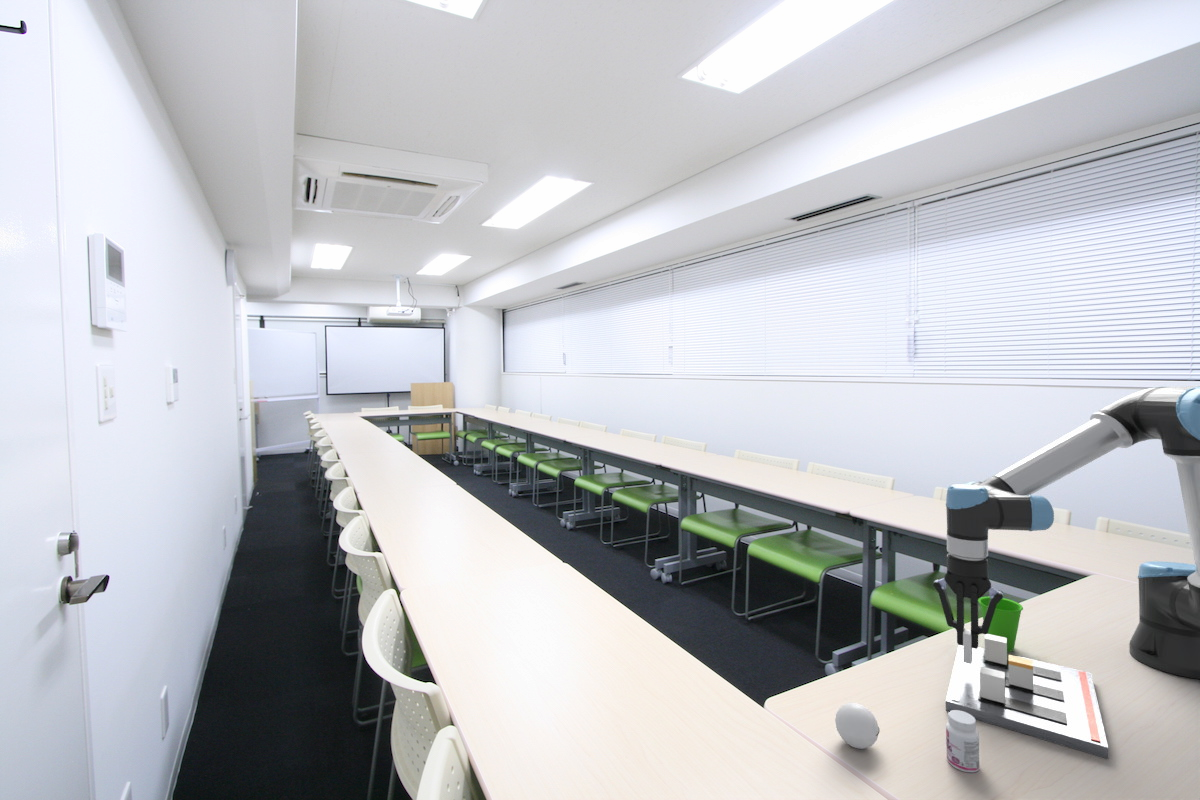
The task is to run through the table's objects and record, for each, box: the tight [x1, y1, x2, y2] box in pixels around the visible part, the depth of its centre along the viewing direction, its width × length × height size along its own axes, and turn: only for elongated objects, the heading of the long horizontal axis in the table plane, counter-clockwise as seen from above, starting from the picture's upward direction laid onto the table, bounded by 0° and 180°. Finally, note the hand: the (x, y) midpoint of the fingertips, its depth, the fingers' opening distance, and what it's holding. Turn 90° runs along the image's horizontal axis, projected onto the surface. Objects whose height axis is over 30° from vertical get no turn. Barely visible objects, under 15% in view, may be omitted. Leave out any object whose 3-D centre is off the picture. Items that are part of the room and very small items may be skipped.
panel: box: [945, 645, 1109, 759], centre depth 112 cm, size 24×30×2 cm
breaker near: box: [980, 666, 1005, 703], centre depth 108 cm, size 4×3×5 cm
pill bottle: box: [945, 710, 980, 773], centre depth 93 cm, size 5×5×8 cm
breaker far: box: [984, 634, 1008, 665], centre depth 122 cm, size 4×3×5 cm
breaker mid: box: [1008, 654, 1034, 690], centre depth 112 cm, size 4×3×5 cm
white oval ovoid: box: [834, 702, 881, 750], centre depth 100 cm, size 10×7×7 cm
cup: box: [978, 595, 1024, 653], centre depth 132 cm, size 9×9×11 cm
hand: (967, 660), depth 118 cm, fingers closed
